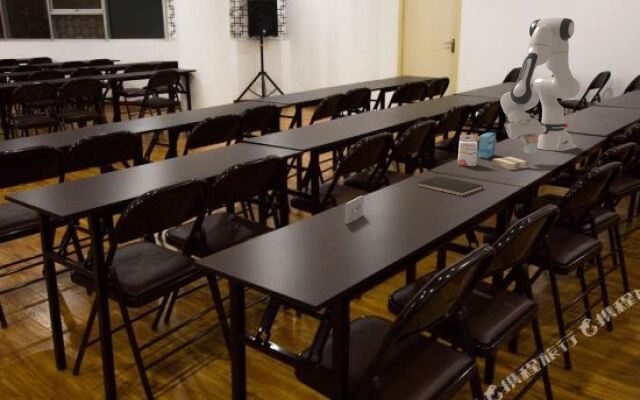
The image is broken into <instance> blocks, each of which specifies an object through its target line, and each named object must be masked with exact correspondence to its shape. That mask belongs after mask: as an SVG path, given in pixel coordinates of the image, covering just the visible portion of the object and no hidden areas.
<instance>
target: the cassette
mask: <svg viewBox="0 0 640 400" xmlns="http://www.w3.org/2000/svg"><path fill="white" fill-rule="evenodd" d="M344 209H345V216H344V217H345V219H344V220H345V221H344V223H345V224H347V225H348V224H350V223H353V222H355V221H356V220H358V219H360V218H361V217H362V216H363V215H364V195H360V196H357V197H356V198H354V199H352V200H350V201H348V202H346V203H345V208H344Z"/></svg>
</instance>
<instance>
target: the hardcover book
mask: <svg viewBox="0 0 640 400" xmlns="http://www.w3.org/2000/svg"><path fill="white" fill-rule="evenodd" d="M417 183H418V184H417V186H418V187H421V188H426V189H429V190H435V191H439V192H442V191H443V193H448V194H451V193H452V195H455V194H456V196H460V195H461V196H460V197H463V195H464V196H466V195H469V194H472V193H474V192H477V191H479V190H483V189H484V186H483V184H480V183H479V184H478V183H475V182H469V181H465V180H461V179H455V178H451V177H447V176H443V175H435V176H433V177H429V178H426V179H423V180H419V181H417ZM471 192H472V193H471ZM468 193H469V194H468ZM465 194H466V195H465Z"/></svg>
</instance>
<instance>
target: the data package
mask: <svg viewBox="0 0 640 400" xmlns="http://www.w3.org/2000/svg"><path fill="white" fill-rule="evenodd" d="M496 139H497V134H496V133H495V132H485V133H483V134H481V135H480V136H479V143H478V158H481V159H486V160H487V159H489V158H491V157H493V156H494V155H495V154H496V153H495V151H496Z"/></svg>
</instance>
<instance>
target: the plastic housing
mask: <svg viewBox="0 0 640 400" xmlns="http://www.w3.org/2000/svg"><path fill="white" fill-rule="evenodd" d="M538 137H539V136H533V135H531V136H525V138H524V139H525V140H528V142H529V143H528V144H527V145H524V144H523V150H522V151H523V153H526V154H529V155H531V154H535V153H538V148H537V146H538Z"/></svg>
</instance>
